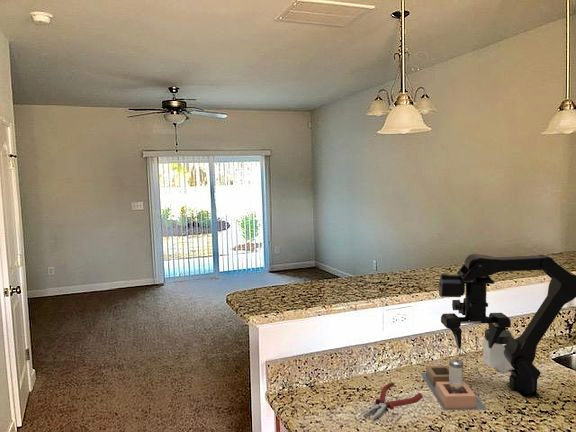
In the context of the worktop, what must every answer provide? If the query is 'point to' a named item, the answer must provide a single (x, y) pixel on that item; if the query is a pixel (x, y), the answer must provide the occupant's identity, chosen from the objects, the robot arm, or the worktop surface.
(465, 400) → the socket
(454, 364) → the peg
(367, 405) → the worktop surface
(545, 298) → the robot arm
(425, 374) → the dock plate
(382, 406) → the pliers
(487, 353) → the jar
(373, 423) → the worktop surface
